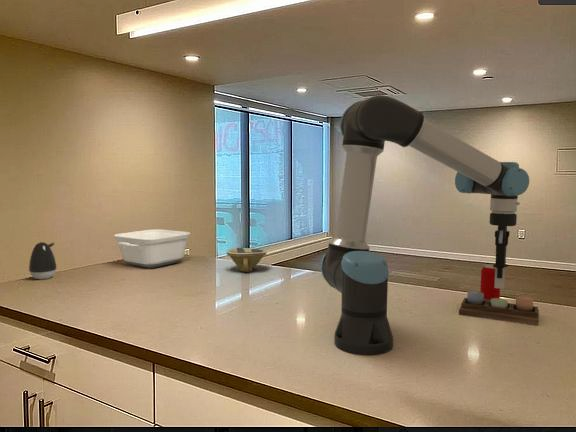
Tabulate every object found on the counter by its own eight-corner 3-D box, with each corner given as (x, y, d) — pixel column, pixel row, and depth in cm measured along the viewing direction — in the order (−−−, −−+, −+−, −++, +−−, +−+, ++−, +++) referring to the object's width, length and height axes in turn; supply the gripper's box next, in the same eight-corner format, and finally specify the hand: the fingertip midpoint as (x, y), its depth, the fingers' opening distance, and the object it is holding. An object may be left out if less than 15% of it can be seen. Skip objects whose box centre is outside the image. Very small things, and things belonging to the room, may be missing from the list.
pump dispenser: (62, 277, 196) (60, 241, 195) (38, 282, 188) (36, 244, 186) (48, 274, 202) (47, 239, 200) (24, 278, 193) (22, 242, 192)
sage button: (506, 312, 142) (507, 303, 142) (489, 310, 144) (490, 301, 144) (507, 308, 146) (508, 299, 146) (491, 306, 149) (491, 297, 148)
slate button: (482, 304, 145) (482, 295, 145) (466, 302, 147) (466, 293, 147) (484, 301, 149) (484, 292, 149) (468, 299, 152) (468, 290, 151)
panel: (538, 325, 135) (538, 315, 135) (458, 314, 145) (459, 305, 145) (538, 314, 145) (539, 305, 145) (464, 304, 156) (464, 296, 156)
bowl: (265, 275, 200) (265, 253, 199) (224, 274, 201) (223, 253, 200) (267, 266, 218) (267, 246, 217) (229, 266, 218) (229, 246, 217)
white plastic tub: (145, 274, 202) (144, 240, 201) (104, 266, 218) (103, 235, 216) (200, 261, 231) (199, 232, 229) (160, 255, 246) (159, 228, 245)
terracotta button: (532, 311, 139) (533, 301, 138) (515, 309, 141) (515, 299, 141) (533, 307, 143) (533, 297, 142) (515, 305, 145) (516, 295, 145)
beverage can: (495, 303, 157) (497, 269, 156) (477, 300, 161) (478, 266, 160) (502, 300, 161) (503, 266, 160) (483, 296, 166) (485, 263, 164)
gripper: (515, 214, 135) (511, 294, 137) (517, 211, 146) (513, 284, 148) (488, 213, 138) (484, 290, 141) (492, 210, 150) (488, 282, 152)
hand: (499, 287), depth 145 cm, fingers closed
